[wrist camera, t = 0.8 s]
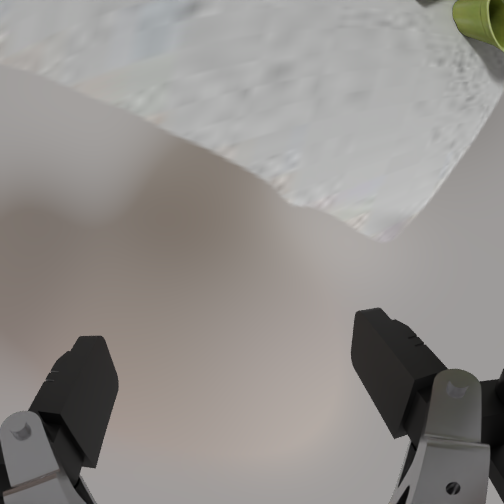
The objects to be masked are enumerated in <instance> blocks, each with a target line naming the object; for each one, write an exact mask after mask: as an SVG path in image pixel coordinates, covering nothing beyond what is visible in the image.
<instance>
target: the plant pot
mask: <svg viewBox="0 0 504 504" xmlns="http://www.w3.org/2000/svg"><path fill="white" fill-rule="evenodd" d="M453 19H454V20H455V22H456V24H457V28H458V29H459V31H460V32H461V33H462V34H464V35H465V36H467V37H471V38H474V39H477V40H480V41H483V42H486V43H488V44H491V45H494V46H495V47H497V48H498V49H500V50H501V51H503V52H504V0H458V1H457V2H455V4H454V6H453Z"/></svg>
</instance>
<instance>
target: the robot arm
mask: <svg viewBox="0 0 504 504" xmlns="http://www.w3.org/2000/svg"><path fill="white" fill-rule="evenodd" d="M351 359H352V364H353V367H354V369H355V371H356V372H357V374H358V376H359V378H360V379H361V381H362V383H363V385H364V386H365V388H366V390H367V391H368V393H369V395H370V396H371V399H372V400H373V402H374V404H375V406H376V407H377V409H378V411H379V413H380V414H381V416H382V418H383V420H384V421H385V423H386V425H387V427H388V429H389V430H390V432H391V434H392V436H393V438H394V439H395V438H399V437H401V436H404V435H407V434H408V436H409V437H410V439H411V440H410V443H409V445H408V448H407V452H406V455H405V459H404V462H403V465H402V468H401V472H400V475H399V478H398V481H397V484H396V487H395V490H394V493H393V495H392V497H391V500H390V502H389V504H485V503H486V495H487V486H488V477H489V478H490V480H491V482H492V483H493V485H494V487H495V488H496V490H497V492H498V494H499V496H500V497H501V499H502V501H503V503H504V369H503V372H502V374H501V376H500V378H499V379H497V380H490V381H480V382H479V381H478V379H477V378H476V377H475V376H474V375H472V374H471V373H469V372H467V371H464V370H460V369H447V367H445V365H444V364H443V363H442V362H441V361H440V360H439V359H438V358H437V356H436V355H435V354H434V353H433V352H432V351H431V350H430V349H429V348H428V347H427V346H426V345H424V342H423V341H422V340H421V339H420V338H419V337H417V335H416V334H415V333H414V332H413V331H412V330H411V329H410V328H409V327H408V326H407V325H405V324H403V323H401V322H399V321H397V320H391V319H390V318H389V317H388V316H387V315H386V313H385V312H384V311H383V310H382V309H381V308H373V309H367V310H361V311H358V312H356V314H355V320H354V328H353V338H352V347H351ZM117 392H118V376H117V373H116V370H115V367H114V365H113V362H112V359H111V356H110V353H109V350H108V347H107V344H106V342H105V339H104V338H103V337H102V336H80V337H79V338H78V339H77V341H76V343H75V344H74V346H73V348H72V349H71V351H67V352H66V353H65V354H64V355H63V356H61V357H60V358H59V359H58V360H57V361H56V363H55V364H54V366H53V368H52V369H51V373H49V374H48V376H47V378H46V382H44V383H43V385H42V386H41V388H40V390H39V392H38V394H37V395H36V397H35V399H34V401H33V403H32V404H31V406H30V408H29V410H28V411H20V412H17V413H14V414H12V415H10V416H9V417H8V418H7V419H6V420H5V421H4V422H3V423H2V425H1V428H0V504H97V503H96V501H95V500H94V498H93V496H92V494H91V493H90V491H89V489H88V487H87V485H86V484H85V482H84V480H83V478H82V477H81V476H80V470H81V467H90V468H96V465H97V461H98V457H99V453H100V450H101V446H102V443H103V439H104V435H105V432H106V429H107V425H108V422H109V419H110V415H111V412H112V409H113V405H114V402H115V399H116V396H117Z"/></svg>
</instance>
